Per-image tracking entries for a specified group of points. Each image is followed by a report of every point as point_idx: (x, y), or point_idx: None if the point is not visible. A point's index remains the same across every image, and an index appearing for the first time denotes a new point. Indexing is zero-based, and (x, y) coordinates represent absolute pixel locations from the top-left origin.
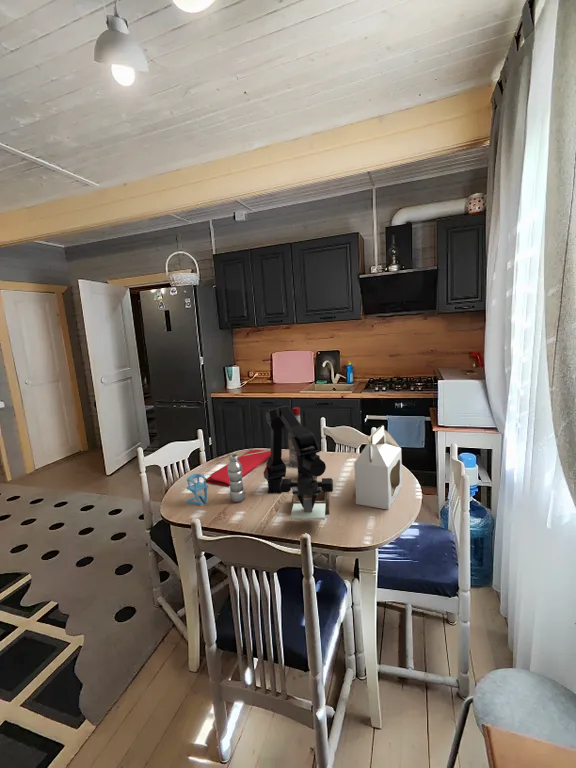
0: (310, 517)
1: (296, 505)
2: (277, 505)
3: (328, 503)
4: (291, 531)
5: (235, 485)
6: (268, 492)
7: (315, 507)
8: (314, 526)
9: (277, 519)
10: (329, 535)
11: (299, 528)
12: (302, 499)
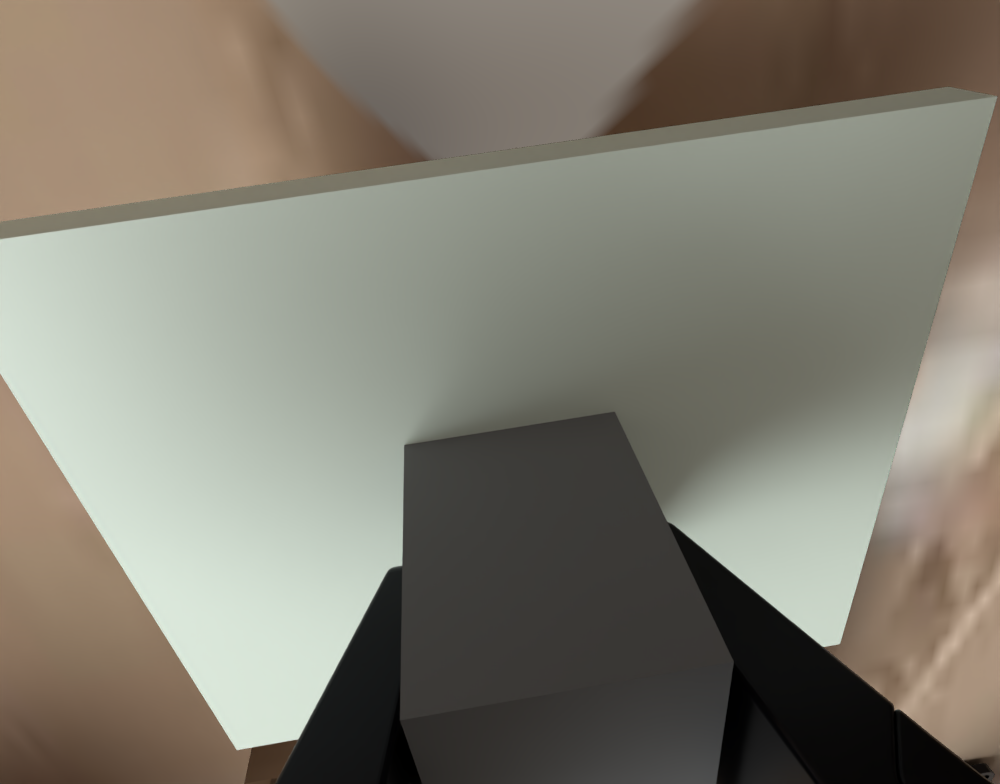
0: (379, 190)
1: (787, 608)
2: (914, 635)
3: (250, 758)
4: (759, 112)
5: None
6: (986, 772)
7: None
8: None
9: (951, 398)
10: (16, 71)
11: None
12: (790, 769)
